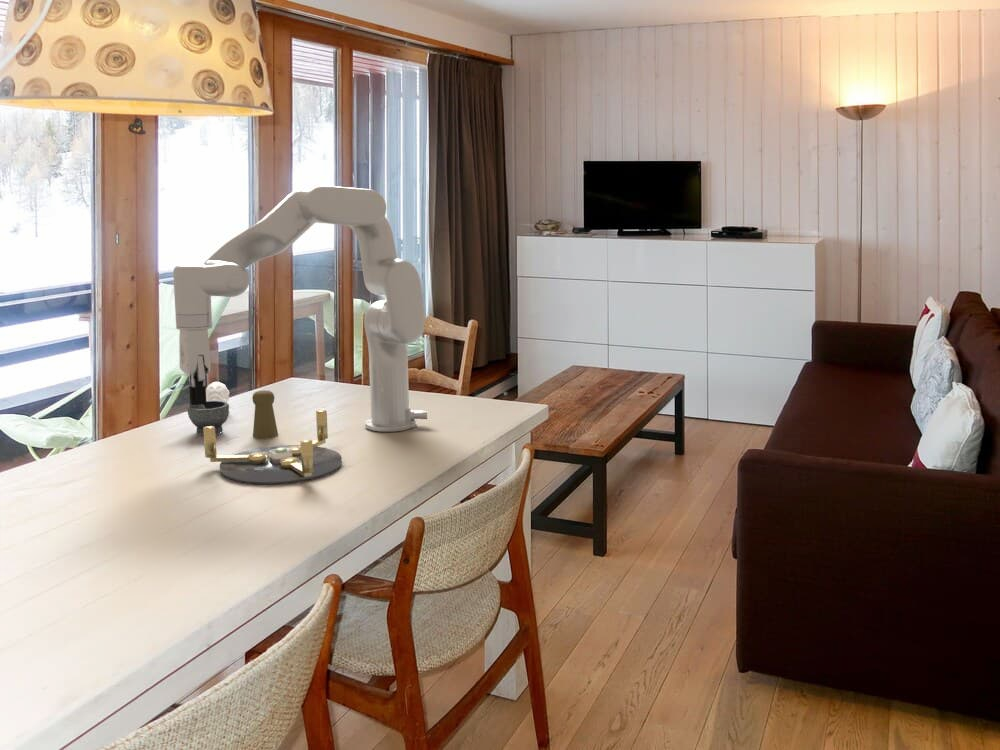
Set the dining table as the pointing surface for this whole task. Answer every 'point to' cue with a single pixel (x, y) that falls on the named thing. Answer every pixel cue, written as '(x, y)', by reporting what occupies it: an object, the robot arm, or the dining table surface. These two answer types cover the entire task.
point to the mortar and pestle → (206, 413)
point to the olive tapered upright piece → (264, 415)
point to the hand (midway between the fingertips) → (198, 403)
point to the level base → (273, 472)
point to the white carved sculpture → (217, 392)
